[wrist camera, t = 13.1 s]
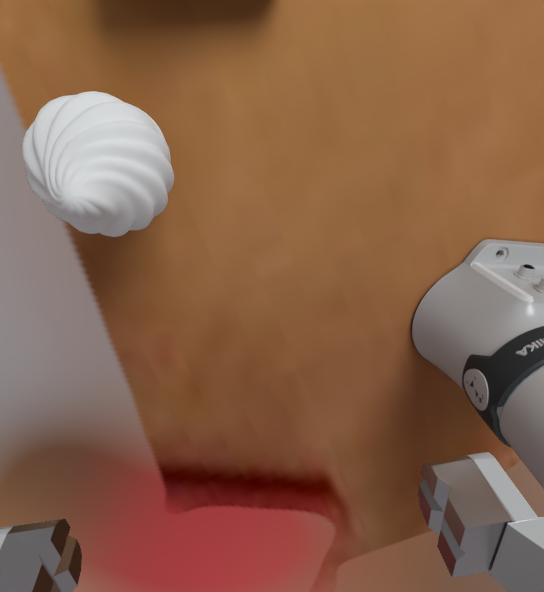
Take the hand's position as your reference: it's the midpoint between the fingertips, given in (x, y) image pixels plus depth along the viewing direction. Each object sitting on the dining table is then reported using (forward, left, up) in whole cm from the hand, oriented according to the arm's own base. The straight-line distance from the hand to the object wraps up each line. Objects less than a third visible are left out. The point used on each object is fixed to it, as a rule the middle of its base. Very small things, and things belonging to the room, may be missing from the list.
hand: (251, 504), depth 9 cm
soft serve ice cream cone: (+7, -4, -31) cm, 32 cm away
